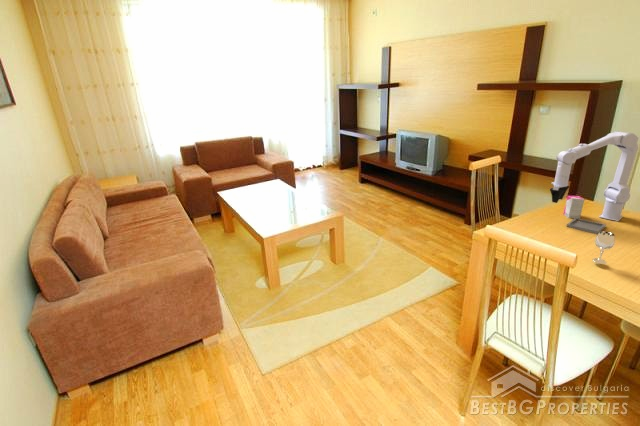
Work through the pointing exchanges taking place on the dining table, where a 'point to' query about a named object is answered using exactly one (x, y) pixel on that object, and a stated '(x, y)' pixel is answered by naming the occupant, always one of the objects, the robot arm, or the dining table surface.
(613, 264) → the dining table surface
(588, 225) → the tray
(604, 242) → the wineglass
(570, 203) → the supplement box
